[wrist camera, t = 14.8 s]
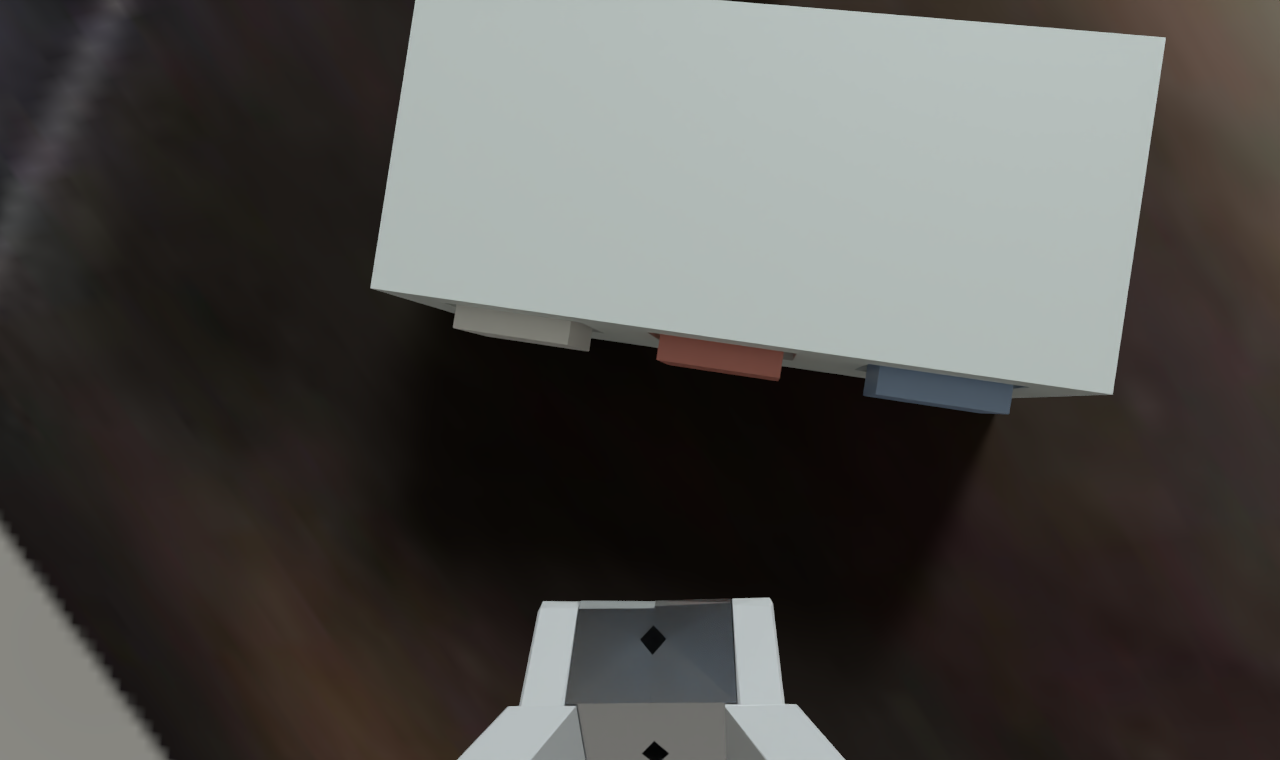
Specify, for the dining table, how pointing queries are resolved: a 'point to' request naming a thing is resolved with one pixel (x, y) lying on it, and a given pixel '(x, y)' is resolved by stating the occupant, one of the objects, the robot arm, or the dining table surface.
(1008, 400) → the blue key
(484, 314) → the white key
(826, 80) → the key console
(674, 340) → the red key
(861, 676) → the dining table surface
